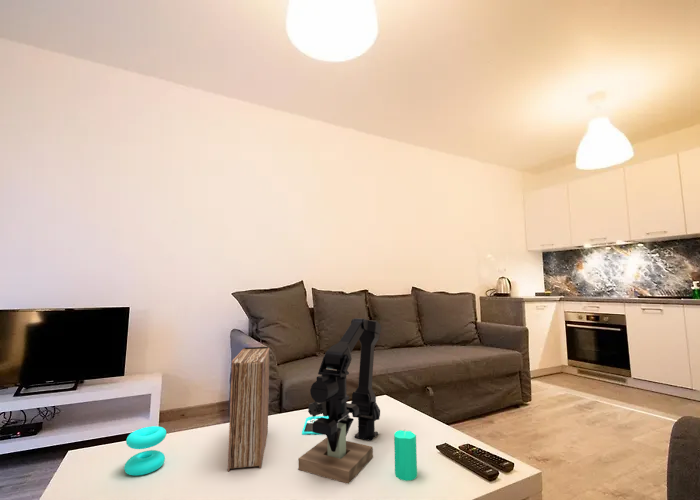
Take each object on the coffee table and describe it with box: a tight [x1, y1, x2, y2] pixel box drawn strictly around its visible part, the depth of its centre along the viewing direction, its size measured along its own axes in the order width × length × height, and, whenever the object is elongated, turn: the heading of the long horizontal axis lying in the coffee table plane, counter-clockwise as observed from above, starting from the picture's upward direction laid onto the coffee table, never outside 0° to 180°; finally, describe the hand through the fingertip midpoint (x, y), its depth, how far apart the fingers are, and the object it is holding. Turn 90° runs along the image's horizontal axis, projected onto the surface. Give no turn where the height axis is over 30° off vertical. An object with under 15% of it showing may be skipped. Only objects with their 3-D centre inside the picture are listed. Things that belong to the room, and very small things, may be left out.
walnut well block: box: [298, 437, 374, 485], centre depth 99 cm, size 16×16×3 cm
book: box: [227, 346, 270, 472], centre depth 109 cm, size 25×9×30 cm, turn 9°
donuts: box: [123, 425, 167, 476], centre depth 97 cm, size 10×10×10 cm
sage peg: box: [328, 422, 347, 459], centre depth 100 cm, size 4×4×9 cm
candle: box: [393, 429, 418, 482], centre depth 93 cm, size 6×6×12 cm
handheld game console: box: [301, 415, 329, 436], centre depth 126 cm, size 10×16×1 cm, turn 1°
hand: (337, 448), depth 99 cm, fingers closed on sage peg, 4 cm apart
